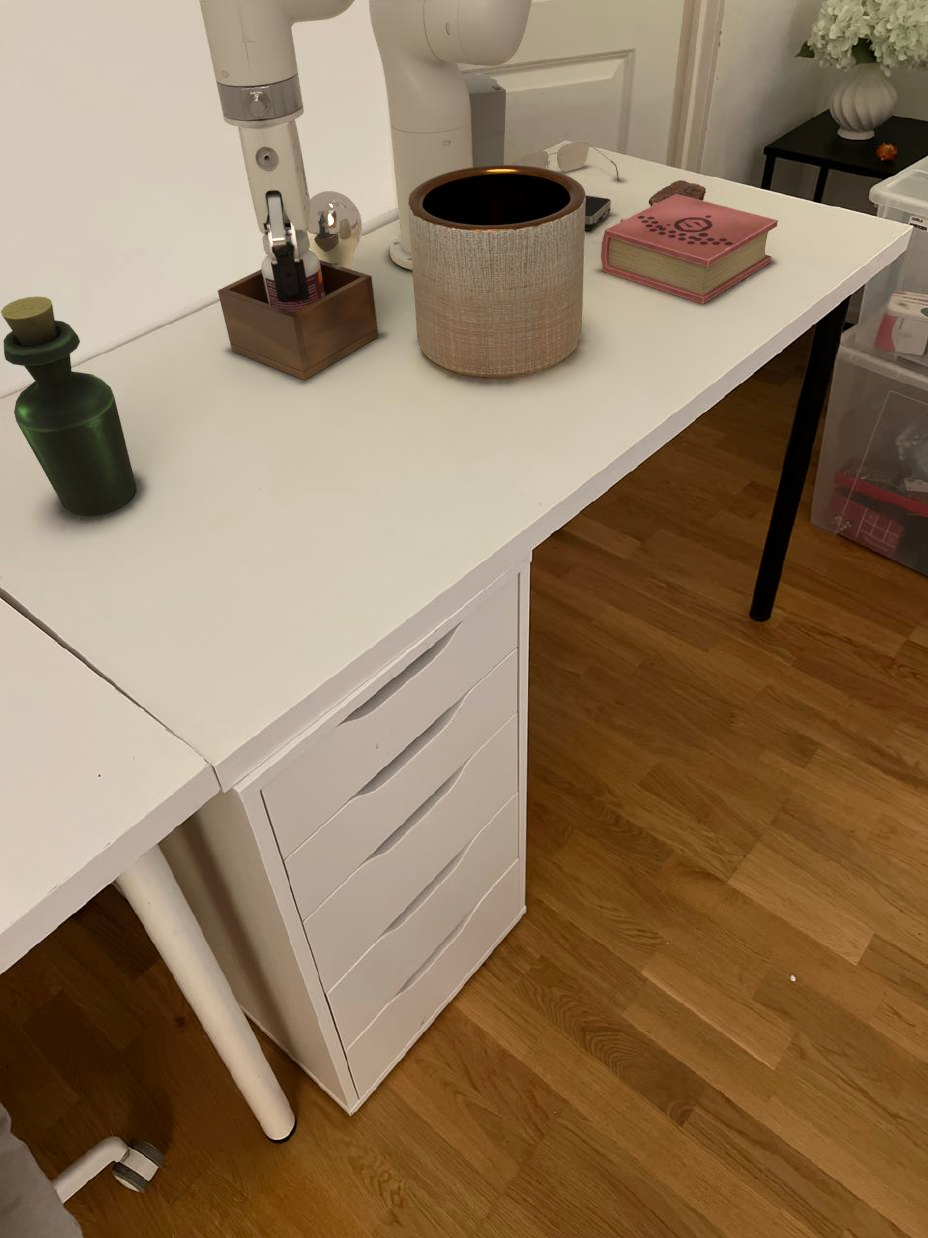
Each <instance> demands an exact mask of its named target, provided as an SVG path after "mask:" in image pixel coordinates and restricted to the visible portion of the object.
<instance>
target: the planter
mask: <svg viewBox="0 0 928 1238" xmlns="http://www.w3.org/2000/svg"><path fill="white" fill-rule="evenodd" d="M586 195H587V194H586V190H585V189H584V187H583V185H582V184H581V183H580V182H579V181H577V180H576V179H574V178H573V177H571V176H569V175H567V174H564V173H562V172H559V171H556V170H552V169H549V168H548V169H544V168H539V167H532V166H521V165H512V164H504V165H490V166H479V167H472V168H465V169H460V170H456V171H452V172H448V173H445V174H442V175H439V176H436V177H434V178H431V179H429V180H427V181H425V182H423V183H422V184H420V185H419V186H417V187H416V188H415V189H414V190H413V191H412V192H411V194H410V195H409V197H408V203H407V204H408V218H409V230H410V242H411V255H412V269H413V270H412V281H413V282H412V283H413V293H414V294H413V297H414V311H415V324H416V335H417V340H418V344H419V348H420V349H421V351H422V353H423V354H424V355H425V356H426V357H427V358H428V359H429V360H431V361H432V362H434V363H435V364H437V365H438V366H440V367H442V368H444V369H446V370H449V371H451V372H454V373H457V374H460V375H463V376H470V377H476V378H485V379H503V378H504V379H506V378H514V377H515V378H516V377H520V376H521V377H522V376H526V375H531V374H535V373H537V372H540V371H544V370H546V369H548V368H551V367H553V366H555V365H556V364H558V363H560V362H561V361H563V360H565V359H566V358H567V357H569V355H570V354H572V353H573V352H574V351H575V349H576V348H577V347H578V345H579V343H580V340H581V336H582V330H583V329H582V328H583V308H584V307H583V305H584V302H583V301H584V262H585V261H584V259H585V230H586V229H585V203H586Z"/></svg>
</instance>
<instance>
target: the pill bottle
mask: <svg viewBox="0 0 928 1238" xmlns="http://www.w3.org/2000/svg"><path fill="white" fill-rule="evenodd" d="M285 229H291V227H285ZM296 231H297V241H298V248H299V255H300V259H303V262H304V268H305V274H306V280H307V286H308V292H309V297H308V298H307V299H304V300H293V301H283V302H281V301H279V300H278V297H277V292H276V287H275V282H274V277H273V272H272V266H271V262H272V259H271V252H270V246H269V239H268V234H267V235H264V234H263V236H262V245H263V251H264V252H265V254H266V256H264V258H263V260H262V261H261V265H260V270H262V276H263V280H264V285H265V290H266V295H267V300H268V304H269V305H272V306H275V307H278V308H281V309H283V310H286V311H289V312H292V313H295V312H297V311H299V310H300V309H302V308H304V307H306V306H308V305H310V304H312V303H314V302H315V301H317V300H319V299H321V298H323V297H325V291H324V285H323V279H322V273H321V266H320V261H319V258H318V257H317V255H316V254H315V253H314V252H313V251H312V250H311V249H310V242H309V238H308V233H307V232H303V230H296ZM286 238H287V242H290V243H291V245H292V241H291V236H286Z"/></svg>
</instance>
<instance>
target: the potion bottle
mask: <svg viewBox="0 0 928 1238" xmlns="http://www.w3.org/2000/svg"><path fill="white" fill-rule="evenodd" d="M0 311H1V312H0V313H1V316H2V318H3V319H4V321H5V322H6V323H7V325H8V326H9V328H10V330H11V331H10V332H9V333H7V334H6V335H5V337H4V339H3V354H4V359H5V361H7V362H8V363H10V364H11V365H16V366H22V367H24V368H25V369H26V371H27V372H28V373H29V375H30V376H31V378H32V379H33V380H34V381H33V382H32V383H30V384H29V385H28V386H27V387H26V388H25V389H23V390H22V391H20V393H19V394H18V397H17V398H16V400H15V404H14V409H13V410H14V412H13V414H14V418H15V422H16V424H17V426H18V427H19V429H20V431H21V432H22V434H23V436H24V438H25V440H26V441H27V444H28V445H29V447H30V449H31V450H32V452H33V454H34V456H35V458H36V460H37V461H38V463H39V465H40V467H41V469H42V470H43V472H44V474H45V476H46V477H47V479H48V481H49V483H50V485H51V486H52V488H53V490H54V492H55V494H56V495H57V497H58V499H59V501H60V503H61V504H62V506H63V508H65V509H66V510H67V511H69V512H70V513H72V514H75V515H80V516H84V517H91V516H101V515H104V514H108V513H111V512H114V511H115V510H117V509H119V508H121V507H123V506H124V505H126V504H127V503H128V501H130V499H131V498H133V496H134V493H135V491H136V488H137V483H136V480H135V476H134V472H133V468H132V463H131V459H130V456H129V451H128V447H127V443H126V439H125V435H124V432H123V431H124V430H123V426H122V422H121V418H120V414H119V411H118V410H119V409H118V406H117V402H116V398H115V394H114V392H113V389H112V387H111V386H110V385H109V384H107V382H105V381H104V379H102V378H100V377H98V376H96V375H94V374H93V373H86V372H80V371H72V362H71V361H72V360H71V354H72V353H73V352H74V351H76V350H77V349H78V347H79V346H80V343H81V339H80V337H79V335H78V334H77V333H76V331H75V330H74V328H73V327H71V325H70V324H69V323H67V322H65V321H62V320H55V314H54V313H55V312H54V307H53V302H52V300H51V299H50V298H49V297H45V296H38V295H37V296H28V297H22V298H18V299H16V300H13V301H11V302H9V303H7V304H6V305H4V306H3V307H2V309H1V310H0Z"/></svg>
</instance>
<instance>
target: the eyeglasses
mask: <svg viewBox="0 0 928 1238" xmlns="http://www.w3.org/2000/svg"><path fill="white" fill-rule="evenodd" d="M591 147H592V148H593V149H594V150H595V151H597V152H598V153H599V154H601V155H602V156H603V157H604V158H606V159H607V160H608V161H610V163H611V164H613V166H614V167H615V170H616V177H617V181H620V177H619V171H618V167H617V164H616V163H615V162H614V161H613V160H612V159H610V158H609V157H608V156H606V155H605V154H604V153H603V152H601V151H600V150H599V149H598V148H597V147H595V145H593V144H590V142H589V141H587V140H579V141H573V142H569V143H566V144H563V145H562V146H560V147H559V148H558V149H557V151H555V152H551V153H549V152H547V151H546V150H537V151H532V152H529V153H526V154H523V155H521V156H519V157H517V159H516V160H515V162H514V163H512V164H511V165H521V166H532V167H539V168H544V169H549V167H550V164H551V160H550V159H549V156H551V155H555V154H556V161H557V166H558V169H559V170H560V171H561V172H570V171H571V172H572V171H575V170H578V169H580V168H582V167H583V166H584V165H585V164H586V161H587V158H588V154H589V151H590V148H591Z"/></svg>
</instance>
